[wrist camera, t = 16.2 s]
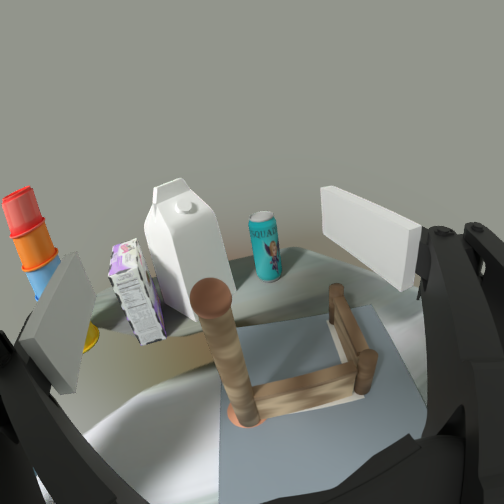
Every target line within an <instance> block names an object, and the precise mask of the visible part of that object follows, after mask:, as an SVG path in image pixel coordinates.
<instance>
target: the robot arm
mask: <svg viewBox="0 0 504 504" xmlns="http://www.w3.org/2000/svg"><path fill="white" fill-rule="evenodd" d="M321 204H322V223H323V234H324V235H325V236H327V237H328V238H330V239H331V240H332V241H334V242H335V243H337V244H338V245H339V246H341V247H342V248H344V249H345V250H346V251H348V252H349V253H351V254H352V255H353V256H354V257H356V258H357V259H359V260H360V261H361V262H362V263H364V264H365V265H366V266H368V267H369V268H371V269H372V270H373V271H374V272H376V273H377V274H378V275H380V276H381V277H382V278H383V279H385V280H386V281H387V282H389V283H390V284H391V285H393V286H394V287H395V288H396V289H398V290H399V291H400V292H402V291H404V290H406V289H408V288H410V287H412V286H413V283H414V278H415V273H416V274H418V275H419V276H420V277H421V281H420V286H419V291H418V295H417V300H419V298H420V296H421V298H422V306H423V314H424V324H425V335H426V350H427V376H428V399H427V419H426V424H425V427H424V430H423V432H422V436H421V438H419V439H415V440H414V439H413V437H412V436H411V435H410V434H409V433H408V434H407V435H405V436H404V437H402V438H401V439H399V440H398V441H396V442H395V443H393V444H391V445H390V446H388V447H387V448H385V449H383V450H382V451H380V452H378V453H377V454H375V455H373V456H372V457H371V458H370V459H369V460H367V461H366V462H365V463H364V464H363V465H362V466H361V467H360V468H358V469H357V470H356V471H355V472H354V473H352V474H351V475H350V476H349V477H348V478H346V479H345V480H344V481H343V482H341V483H340V484H339V485H338V486H336V487H334V488H332V489H328V490H324V491H319V492H313V493H308V494H302V495H295V496H288V497H279V498H276V499H273V500H270V501H267V502H264V503H260V504H504V242H502V241H501V240H500V239H499V238H498V237H497V236H496V235H495V234H494V233H493V232H492V231H491V230H489V229H488V228H487V227H485V226H484V225H482V224H481V223H477V222H474V223H472V222H470V223H466V224H465V228H464V234H459V235H457V234H456V233H455V231H453V230H452V229H450V228H447V227H444V226H433V227H430V228H429V229H426V228H425V227H423V226H421V225H419V224H417V223H415V222H413V221H411V220H409V219H407V218H405V217H403V216H401V215H399V214H397V213H395V212H392V211H390V210H388V209H386V208H384V207H382V206H379V205H377V204H375V203H373V202H370V201H368V200H366V199H364V198H361V197H359V196H356V195H354V194H352V193H350V192H347V191H345V190H342V189H340V188H337V187H335V186H327V187H322V188H321ZM483 261H484V262H485V267H486V269H485V273H484V275H482V273H481V269H482V265H483ZM96 297H97V296H96V294H95V292H94V290H93V287H92V285H91V283H90V281H89V279H88V276H87V274H86V272H85V269H84V267H83V265H82V262H81V260H80V257H79V255H78V252H77V251H76V252H73V253H70V254H67V255H65V256H64V257H63V259H62V261H61V262H60V264H59V265H58V267H57V269H56V270H55V272H54V274H53V275H52V277H51V279H50V280H49V282H48V284H47V286H46V287H45V289H44V291H43V293H42V295H41V296H40V298H39V300H38V302H37V304H36V306H35V308H34V310H33V311H32V312H31V313H30V315H29V316H28V317H27V319H26V321H25V323H24V326H23V327H22V329H21V332H20V334H19V336H18V338H17V340H16V342H15V344H14V346H13V345H12V344H11V342H10V341H9V339H8V338H7V336H6V335H5V333H4V332H3V331H2V330H0V504H46V503H45V500H44V498H43V495H42V493H41V490H40V487H39V484H38V481H37V478H36V476H37V475H38V477H39V478H40V480H41V482H42V483H43V485H44V486H45V488H46V490H47V491H48V493H49V494H50V496H51V497H52V499H53V500H54V502H55V503H56V504H150V503H148V502H147V501H146V500H145V499H144V498H143V497H141V496H140V495H139V494H138V493H137V492H136V491H135V490H134V489H132V488H131V487H130V486H129V485H128V484H127V483H126V482H125V481H124V480H123V479H122V478H121V477H120V476H119V475H118V474H117V473H116V472H115V471H114V470H113V469H112V468H111V467H110V466H109V465H108V464H107V463H106V462H105V461H104V460H103V459H102V458H101V457H100V455H99V454H98V453H97V452H96V451H95V450H94V449H93V448H92V446H91V445H90V444H89V443H88V442H87V441H86V439H85V438H84V437H83V436H82V434H81V433H80V432H79V431H78V429H77V428H76V427H75V426H74V425H73V423H72V422H71V420H70V419H69V418H68V417H67V415H66V414H65V412H64V411H63V410H62V408H61V407H60V405H59V404H58V402H57V401H56V400H55V398H54V397H53V396H52V395H51V394H50V389H51V385H52V386H53V387H54V388H55V389H56V391H57V392H58V393H59V394H60V395H63V394H71V393H76V387H77V380H78V374H79V369H80V364H81V359H82V354H83V349H84V345H85V340H86V336H87V331H88V327H89V323H90V319H91V315H92V312H93V308H94V304H95V301H96Z"/></svg>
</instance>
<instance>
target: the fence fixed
mask: <svg viewBox="0 0 504 504" xmlns="http://www.w3.org/2000/svg"><path fill="white" fill-rule="evenodd" d="M343 294H344V286H343V285H342V284H339V283H334V284H331V285H330V286H329V323H330V324H332V325H334V327H335V329H336V332H337V334H338V337H339V340H340V342H341V345H342V347H343V350H344V353H345V355H346V358H347V361H348V362H349V361H353V363H354V364H355V366H356V368H357V370H358V372H357V375H356V377H355V384H354V391H355V393H356V394H358V395H365V394H367V393H368V392H369V391H370V388H371V384H372V380H373V377H374V373H375V369H376V364H377V360H378V353H377V352H376V351H375V350H373V349H369V347H368V344H367V342H366V340H365V338H364V336H363V334H362V332H361V330H360V328H359V326H358V323H357V321H356V319H355V317H354V315H353V313H352V311H351V309H350V307H349V305H348V303H347V301H346V299H345V297H344V296H343Z"/></svg>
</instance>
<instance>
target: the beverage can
mask: <svg viewBox="0 0 504 504" xmlns="http://www.w3.org/2000/svg"><path fill="white" fill-rule="evenodd" d="M249 231H250V237H251V243H252V249H253V255H254V261H255V266H256V272H257V275H258V277H259V278H260V280H262V281H263V282H267V283H270V282H274V281H276V280H278V279H279V278H280V275H281V272H282V266H281V257H280V249H279V241H278V233H277V225H276V220H275V218H274V214H273V213H272V212H269V211H261V212H257V213H253V214H251V215H250V216H249Z"/></svg>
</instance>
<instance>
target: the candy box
mask: <svg viewBox="0 0 504 504" xmlns="http://www.w3.org/2000/svg"><path fill="white" fill-rule="evenodd" d="M108 278H109V280H110V282H111V285H112V287H113V289H114V292H115V294H116V296H117V298H118V300H119V303H120V305H121V307H122V309H123V311H124V313H125V315H126V317H127V319H128V321H129V323H130V326H131V328H132V330H133V331H134V333H135V335H136V337H137V339H138V341H139V343H140V345H141V346H143V345H147V344H150V343H153V342H157V341H161V340H164V339H166V338H167V335H166V330H165V325H164V320H163V315H162V309H161V303H160V299H159V296H158V294H157V291H156V289H155V286H154V283H153V281H152V278H151V275H150V273H149V270H148V267H147V265H146V262H145V259H144V256H143V253H142V250H141V247H140V244H139V242H138V239H137V238H135V239H132V240H129V241H126V242H123V243H120V244H117V245H115V246H113V249H112V255H111V262H110V267H109V274H108Z"/></svg>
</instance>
